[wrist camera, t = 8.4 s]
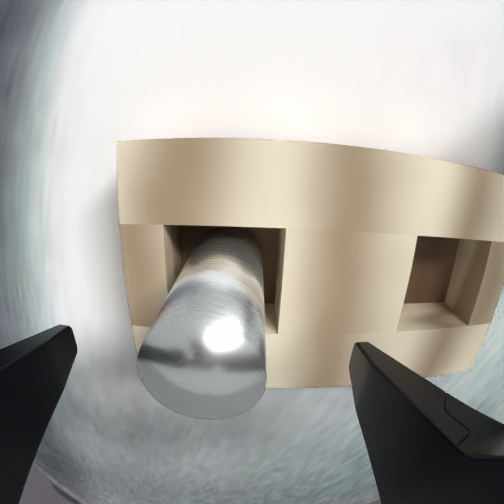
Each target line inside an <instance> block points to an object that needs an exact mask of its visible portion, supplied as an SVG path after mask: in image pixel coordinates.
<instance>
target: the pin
mask: <svg viewBox="0 0 504 504" xmlns="http://www.w3.org/2000/svg"><path fill="white" fill-rule="evenodd" d="M137 369H138V374H139V377H140V379H141V381H142V383H143V385H144V386H145V388H146V389H147V391H148V392H149V393H150V394H151V395H152V396H153V397H154V398H155V399H156V400H157V401H159V402H160V403H161V404H163V405H164V406H166V407H167V408H169V409H171V410H173V411H175V412H177V413H180V414H182V415H186V416H189V417H193V418H199V419H211V420H213V419H224V418H229V417H233V416H236V415H239V414H241V413H243V412H245V411H247V410H249V409H250V408H252V407H253V406H254V405H255V404H256V403H257V402H258V401H259V400H260V398H261V397H262V395H263V393H264V391H265V388H266V383H267V370H266V339H265V310H264V283H263V258H262V250H261V247H260V244H259V242H258V241H257V239H256V238H255V237H254V236H253V235H252V234H251V233H250V232H249V231H247V230H246V229H244V228H242V227H234V226H215V227H213V228H211V229H209V230H208V231H206V232H205V233H204V234H203V235H202V236H201V238H200V239H199V240H198V242H197V244H196V246H195V247H194V249H193V251H192V253H191V255H190V256H189V258H188V260H187V262H186V263H185V265H184V267H183V269H182V271H181V272H180V274H179V276H178V278H177V280H176V281H175V283H174V285H173V287H172V289H171V291H170V292H169V294H168V296H167V298H166V300H165V302H164V304H163V305H162V307H161V309H160V311H159V313H158V315H157V317H156V319H155V320H154V322H153V324H152V326H151V328H150V330H149V332H148V334H147V336H146V338H145V340H144V342H143V343H142V345H141V347H140V350H139V352H138V357H137Z"/></svg>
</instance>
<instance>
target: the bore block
mask: <svg viewBox="0 0 504 504" xmlns="http://www.w3.org/2000/svg"><path fill="white" fill-rule="evenodd" d="M117 186H118V208H119V223H120V236H121V247H122V257H123V266H124V275H125V283H126V291H127V298H128V305H129V311H130V318H131V324H132V329H133V335H134V341H135V346H136V351H137V356H138V352H139V350H140V347H141V345H142V343H143V342H144V340H145V338H146V336H147V334H148V332H149V330H150V328H151V326H152V324H153V322H154V320H155V319H156V317H157V315H158V313H159V311H160V309H161V307H162V305H163V304H164V302H165V300H166V298H167V296H168V294H169V292H170V291H171V289H172V287H173V285H174V283H175V281H176V280H177V278H178V276H179V274H180V272H181V271H182V269H183V267H184V265H185V263H186V262H187V260H188V258H189V256H190V255H191V253H192V251H193V249H194V247H195V246H196V244H197V242H198V240H199V239H200V238H201V236H202V235H203V234H204V233H205V232H206V231H208V230H209V229H211V228H213V227H215V226H234V227H242V228H244V229H246V230H247V231H249V232H250V233H251V234H252V235H253V236H254V237H255V238H256V239H257V241H258V242H259V244H260V247H261V250H262V258H263V283H264V310H265V339H266V370H267V383H266V388H318V387H340V386H352V385H351V379H350V374H349V362H350V358H351V354H352V350H353V346H354V344H355V343H356V342H369V343H371V344H372V345H374V346H375V347H377V348H378V349H380V350H381V351H383V352H384V353H386V354H388V355H389V356H391V357H392V358H394V359H395V360H397V361H398V362H400V363H401V364H403V365H405V366H406V367H408V368H409V369H411V370H412V371H414V372H415V373H417V374H418V375H420V376H422V377H423V378H426V377H433V376H439V375H445V374H451V373H456V372H461V371H466V370H471V369H472V367H473V364H474V362H475V360H476V358H477V355H478V353H479V351H480V348H481V346H482V344H483V341H484V339H485V336H486V334H487V331H488V328H489V326H490V323H491V320H492V317H493V315H494V312H495V309H496V306H497V303H498V300H499V297H500V294H501V290H502V287H503V284H504V175H502V174H498V173H495V172H491V171H487V170H483V169H479V168H475V167H470V166H466V165H462V164H457V163H452V162H448V161H443V160H438V159H433V158H427V157H422V156H416V155H411V154H405V153H398V152H392V151H385V150H378V149H371V148H363V147H355V146H347V145H338V144H328V143H317V142H304V141H290V140H273V139H248V138H174V139H149V140H132V141H119V142H117Z"/></svg>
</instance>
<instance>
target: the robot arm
mask: <svg viewBox="0 0 504 504" xmlns="http://www.w3.org/2000/svg"><path fill="white" fill-rule="evenodd" d="M76 354H77V345H76V341H75V338H74V334H73V330H72V328H71V327H70V326H67V325H57V326H55V327H53V328H50V329H48V330H45V331H43V332H41V333H38V334H36V335H34V336H31V337H29V338H26V339H24V340H22V341H19V342H17V343H15V344H12V345H10V346H7V347H5V348H3V349H0V504H19V501H20V498H21V495H22V492H23V489H24V488H23V487H24V486H25V483H26V480H27V477H28V474H29V472H30V469H31V466H32V463H33V461H34V458H35V456H36V453H37V450H38V448H39V445H40V443H41V440H42V438H43V435H44V433H45V431H46V428H47V426H48V424H49V421H50V419H51V417H52V414H53V412H54V410H55V408H56V405H57V403H58V401H59V399H60V397H61V394H62V392H63V390H64V387H65V385H66V382H67V379H68V376H69V373H70V371H71V368H72V365H73V362H74V360H75V357H76ZM349 374H350V379H351V385H352V391H353V396H354V402H355V408H356V412H357V416H358V419H359V423H360V426H361V430H362V433H363V437H364V440H365V444H366V447H367V451H368V454H369V458H370V462H371V465H372V469H373V473H374V477H375V480H376V484H377V488H378V492H379V496H380V500H381V504H504V424H502V423H500V422H498V421H496V420H494V419H492V418H490V417H488V416H486V415H485V414H483V413H481V412H479V411H477V410H475V409H473V408H471V407H469V406H468V405H466V404H464V403H463V402H461V401H459V400H458V399H456V398H454V397H453V396H451V395H450V394H448V393H446V394H445V391H443V390H442V389H440V388H439V387H437V386H436V385H434V384H432V383H431V382H429V381H428V380H426V379H425V378H423V377H422V376H420V375H418V374H417V373H415V372H414V371H412V370H411V369H409V368H408V367H406V366H405V365H403V364H401V363H400V362H398V361H397V360H395V359H394V358H392V357H391V356H389V355H388V354H386V353H384V352H383V351H381V350H380V349H378V348H377V347H375V346H374V345H372V344H371V343H369V342H356V343H355V344H354V346H353V350H352V354H351V358H350V362H349Z"/></svg>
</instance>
